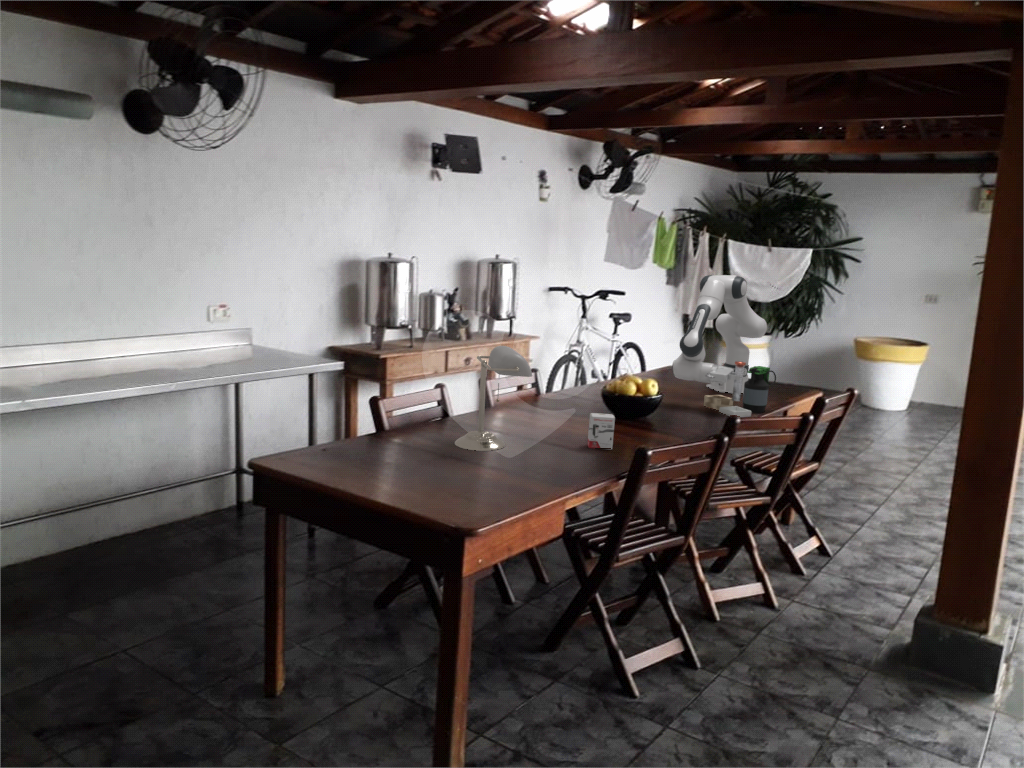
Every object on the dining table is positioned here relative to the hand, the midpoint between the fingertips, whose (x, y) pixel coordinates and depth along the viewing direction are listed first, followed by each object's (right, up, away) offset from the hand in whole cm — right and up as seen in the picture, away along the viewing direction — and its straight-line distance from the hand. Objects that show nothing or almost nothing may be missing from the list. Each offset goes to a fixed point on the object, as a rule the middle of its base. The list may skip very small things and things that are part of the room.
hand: (740, 377), depth 347 cm
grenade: (+11, -15, +15) cm, 24 cm away
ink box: (-68, -26, -63) cm, 96 cm away
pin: (-2, -10, +2) cm, 11 cm away
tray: (-2, -16, +4) cm, 17 cm away
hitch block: (-6, -14, +16) cm, 22 cm away
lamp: (-107, -24, -66) cm, 129 cm away
